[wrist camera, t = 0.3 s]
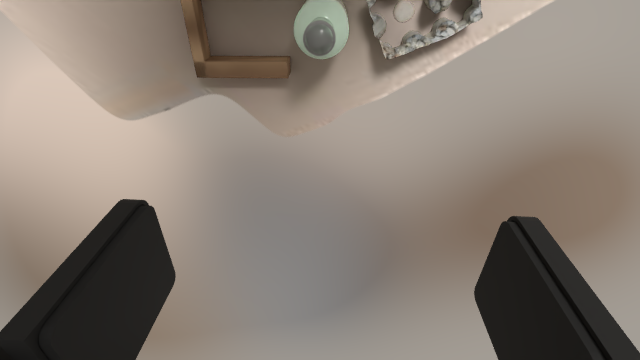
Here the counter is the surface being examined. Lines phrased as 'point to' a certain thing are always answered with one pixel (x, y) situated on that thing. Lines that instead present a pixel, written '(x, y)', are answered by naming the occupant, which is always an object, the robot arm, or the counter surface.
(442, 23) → the egg carton
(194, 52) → the rest
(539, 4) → the counter surface
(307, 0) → the bottle
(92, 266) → the robot arm
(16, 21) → the counter surface
